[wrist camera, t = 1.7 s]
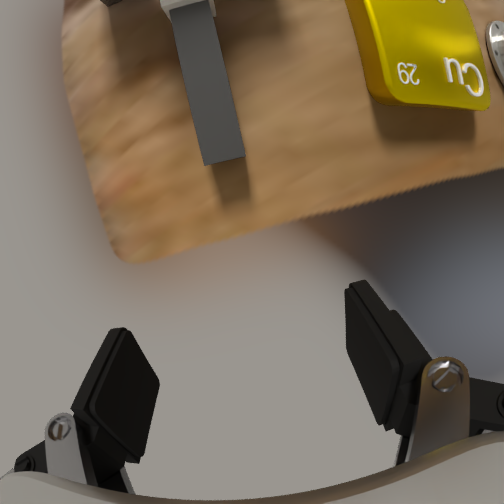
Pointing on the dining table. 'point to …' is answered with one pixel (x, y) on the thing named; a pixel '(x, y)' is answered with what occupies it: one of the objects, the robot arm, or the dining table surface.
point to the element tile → (420, 53)
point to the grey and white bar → (205, 79)
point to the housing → (110, 2)
